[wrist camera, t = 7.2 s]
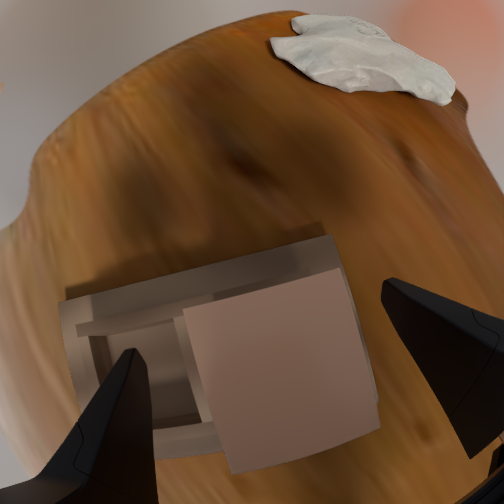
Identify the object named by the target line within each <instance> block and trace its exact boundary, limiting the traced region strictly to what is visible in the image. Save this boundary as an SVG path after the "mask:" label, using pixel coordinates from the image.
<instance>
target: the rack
mask: <svg viewBox="0 0 504 504" xmlns="http://www.w3.org/2000/svg"><path fill="white" fill-rule="evenodd" d="M337 268H340V270H341V273H342V276H343V280H344V283H345V286H346V289H347V293H348V296H349V299H350V303H351V306H352V309H353V313H354V316H355V320H356V324H357V327H358V331H359V334H360V338H361V342H362V346H363V350H364V354H365V357H366V362H367V366H368V370H369V374H370V378H371V382H372V387H373V391H374V396H375V401H376V403H378V402H379V398H378V393H377V389H376V384H375V380H374V376H373V371H372V367H371V363H370V359H369V355H368V351H367V347H366V343H365V340H364V336H363V332H362V328H361V325H360V321H359V318H358V314H357V311H356V307H355V304H354V301H353V297H352V294H351V291H350V287H349V284H348V281H347V278H346V275H345V271H344V268H343V265H342V262H341V259H340V256H339V253H338V250H337V247H336V244H335V242H334V239H333V236H332V234H328V235H324V236H320V237H316V238H312V239H308V240H304V241H300V242H296V243H292V244H288V245H284V246H281V247H277V248H273V249H269V250H265V251H261V252H257V253H253V254H249V255H245V256H241V257H237V258H233V259H229V260H225V261H221V262H217V263H214V264H210V265H206V266H202V267H198V268H194V269H190V270H186V271H182V272H178V273H174V274H170V275H166V276H162V277H158V278H154V279H150V280H146V281H142V282H138V283H134V284H130V285H126V286H122V287H118V288H114V289H110V290H106V291H102V292H98V293H94V294H90V295H86V296H82V297H78V298H74V299H71V300H67V301H63V302H59V303H58V309H59V316H60V323H61V329H62V335H63V341H64V346H65V351H66V356H67V360H68V365H69V369H70V374H71V378H72V382H73V385H74V389H75V393H76V396H77V400H78V403H79V407H80V410H81V413H83V411H84V409H85V408H86V406H87V405H88V403H89V402H90V400H91V399H92V397H93V396H94V394H95V393H96V391H97V390H98V388H99V386H100V385H101V383H102V382H103V381H104V379H105V378H106V376H107V375H108V373H109V372H110V370H111V369H112V367H113V366H114V364H115V363H116V361H117V360H118V358H119V357H120V356H121V354H122V353H123V351H124V350H125V349H129V348H136V349H137V350H138V351H139V353H140V354H141V356H142V357H143V359H144V360H145V362H146V364H147V368H148V378H149V386H150V394H151V402H152V424H153V445H154V460H159V459H170V458H180V457H188V456H196V455H203V454H209V453H216V452H221V451H223V448H222V445H221V442H220V439H219V436H218V433H217V430H216V427H215V424H214V421H213V418H212V415H211V412H210V409H209V405H208V402H207V399H206V395H205V392H204V389H203V385H202V382H201V378H200V375H199V371H198V368H197V364H196V360H195V357H194V353H193V349H192V345H191V341H190V337H189V333H188V329H187V325H186V321H185V317H184V313H183V309H185V308H190V307H194V306H198V305H202V304H206V303H210V302H214V301H218V300H222V299H226V298H230V297H234V296H238V295H242V294H246V293H250V292H254V291H257V290H261V289H265V288H269V287H272V286H276V285H280V284H284V283H287V282H291V281H294V280H298V279H302V278H305V277H309V276H312V275H316V274H319V273H323V272H326V271H330V270H333V269H337Z"/></svg>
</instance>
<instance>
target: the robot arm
mask: <svg viewBox="0 0 504 504" xmlns="http://www.w3.org/2000/svg"><path fill="white" fill-rule="evenodd" d="M381 302H382V305H383V306H384V308H385V310H386V312H387V314H388V316H389V318H390V320H391V322H392V324H393V326H394V328H395V330H396V331H397V333H398V335H399V337H400V338H401V340H402V341H403V343H404V345H405V346H406V348H407V349H408V351H409V352H410V354H411V356H412V357H413V359H414V360H415V362H416V364H417V365H418V367H419V368H420V370H421V372H422V373H423V375H424V377H425V378H426V380H427V382H428V383H429V385H430V387H431V388H432V390H433V392H434V394H435V395H436V397H437V399H438V401H439V402H440V404H441V406H442V408H443V409H444V411H445V413H446V415H447V417H448V418H449V421H450V422H451V424H452V426H453V428H454V430H455V432H456V434H457V436H458V438H459V439H460V441H461V443H462V445H463V447H464V449H465V451H466V453H467V455H468V457H469V459H472V458H473V457H474V456H476V455H477V454H478V453H479V452H481V451H482V450H483V449H484V448H485V447H487V446H488V445H489V444H490V443H491V442H492V441H494V440H495V439H496V438H497V437H499V438H500V440H501V441H502V444H501V445H500V446H499V447H498V448H497V449H495V450H494V451H493V455H492V460H491V465H490V469H489V474H488V478H487V479H485V480H484V481H483V482H482V483H481V484H479V485H478V486H477V487H476V488H474V489H473V490H472V491H471V492H469V493H468V494H467V495H465V496H464V497H463V498H461V499H460V500H459V501H457V502H456V503H455V504H504V320H503V319H499V318H497V317H494V316H491V315H488V314H485V313H483V312H480V311H478V310H475V309H473V308H471V309H470V307H468V306H465V305H463V304H460V303H458V302H455V301H453V300H450V299H448V298H445V297H443V296H440V295H438V294H435V293H433V292H430V291H428V290H425V289H422V288H420V287H417V286H415V285H412V284H410V283H407V282H404V281H402V280H399V279H396V278H393V277H392V278H389V279H386V280H384V281H383V284H382V292H381ZM0 504H159V502H158V493H157V484H156V473H155V460H154V445H153V424H152V402H151V394H150V386H149V378H148V368H147V364H146V362H145V360H144V359H143V357H142V356H141V354H140V353H139V351H138V350H137V349H136V348H129V349H125V350H124V351H123V353H122V354H121V356H120V357H119V358H118V360H117V361H116V363H115V364H114V366H113V367H112V369H111V370H110V372H109V373H108V375H107V376H106V378H105V379H104V381H103V382H102V383H101V385H100V386H99V388H98V390H97V391H96V393H95V394H94V396H93V397H92V399H91V400H90V402H89V403H88V405H87V406H86V408H85V409H84V411H83V413H82V414H81V416H80V417H79V419H78V422H76V423H75V425H74V427H73V428H72V430H71V431H70V433H69V434H68V436H67V437H66V439H65V440H64V442H63V443H62V444H61V446H60V447H59V449H58V450H57V451H56V453H55V454H54V455H53V457H52V458H51V459H50V461H49V462H48V463H47V465H46V466H45V467H44V469H43V470H42V471H41V472H40V473H39V474H38V475H37V476H36V477H34V478H32V479H30V480H28V481H25V482H22V483H19V484H15V485H12V486H9V487H6V488H2V489H0Z"/></svg>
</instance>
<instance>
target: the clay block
mask: <svg viewBox="0 0 504 504" xmlns="http://www.w3.org/2000/svg"><path fill="white" fill-rule="evenodd" d="M183 313H184V317H185V321H186V325H187V329H188V333H189V337H190V341H191V345H192V349H193V353H194V357H195V360H196V364H197V368H198V371H199V375H200V378H201V382H202V385H203V389H204V392H205V395H206V399H207V402H208V405H209V409H210V412H211V415H212V418H213V421H214V424H215V427H216V430H217V433H218V436H219V439H220V442H221V445H222V448H223V451H224V454H225V456H226V459H227V462H228V465H229V467H230V470H231V473H232V475H234V474H239V473H244V472H249V471H254V470H259V469H263V468H267V467H271V466H275V465H279V464H283V463H286V462H290V461H293V460H297V459H300V458H303V457H307V456H310V455H313V454H316V453H319V452H322V451H325V450H327V449H330V448H333V447H336V446H338V445H341V444H344V443H346V442H349V441H351V440H354V439H356V438H358V437H361V436H363V435H365V434H368V433H370V432H372V431H374V430H377V429H379V428H381V425H380V420H379V415H378V410H377V405H376V401H375V396H374V391H373V387H372V382H371V378H370V374H369V370H368V366H367V362H366V357H365V354H364V350H363V346H362V342H361V338H360V334H359V331H358V327H357V324H356V320H355V316H354V313H353V309H352V306H351V303H350V299H349V296H348V293H347V289H346V286H345V283H344V280H343V276H342V273H341V270H340V268H337V269H333V270H330V271H326V272H323V273H319V274H316V275H312V276H309V277H305V278H302V279H298V280H294V281H291V282H287V283H284V284H280V285H276V286H272V287H269V288H265V289H261V290H257V291H254V292H250V293H246V294H242V295H238V296H234V297H230V298H226V299H222V300H218V301H214V302H210V303H206V304H202V305H198V306H194V307H190V308H185V309H183Z"/></svg>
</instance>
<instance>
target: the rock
mask: <svg viewBox="0 0 504 504" xmlns="http://www.w3.org/2000/svg"><path fill="white" fill-rule="evenodd" d="M291 25H292V27H293V28H292V29H293V30H294V31H295V32H296V33H298V34H300V36H293V37H273V38H270V41H271V43H272V48H273V50H274V52H275V54H276V56H277V57H278V58H280V59H284V60H287V61H288V62H289V63H291V64H292V65H294V66H295V67H297V68H298V69H299V70H300V71H302V72H303V73H304V74H306V75H307V76H308V77H309V78H311V79H312V80H314V81H317V82H319V83H322V84H325V85H328V86H332V87H336V88H338V89H340V90H342V91H344V92H349V93H351V92H354V91H361V90H368V91H377V92H386V91H406V92H409V93H411V94H412V95H413V96H415V97H417V98H420V99H425V100H428V101H431V102H433V103H435V104H437V105H441V106H444V105H446V104H448V103H449V102H451V96H452V95H453V93H454V90H455V86H454V85H455V84H456V83H455V81H454V80H453V78H452V77H451V76H450V75H449V74H448V73H447V71H446V70H445V69H444V68H443V67H441V66H439V65H437V64H435V63H434V62H432V61H429V60H427V59H425V58H423V57H420V56H418V55H417V54H416V53H414V52H412V51H411V50H409V49H408V48H406V47H404V46H402V45H400V44H398V43H395V42H393V41H392V40H391V39H390V38H389V37H388V36H387V34H386V33H385V32H384V31H383V30H382V29H380V28H378V27H377V26H375V25H373V24H370V23H367V22H364V21H362V20H360V19H357V18H355V17H350V16H341V15H332V14H325V13H323V14H312V15H304V16H299V17H295V18H292V19H291ZM338 48H339V49H338ZM364 78H365V79H364Z"/></svg>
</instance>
